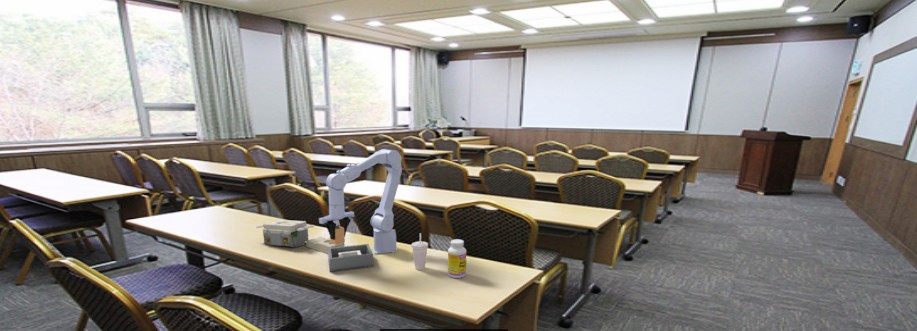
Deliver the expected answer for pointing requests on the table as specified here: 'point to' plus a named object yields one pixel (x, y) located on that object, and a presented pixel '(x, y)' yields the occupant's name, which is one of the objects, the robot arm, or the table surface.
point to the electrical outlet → (322, 244)
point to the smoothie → (419, 254)
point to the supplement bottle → (457, 259)
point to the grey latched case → (285, 233)
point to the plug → (338, 235)
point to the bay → (350, 257)
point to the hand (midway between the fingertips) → (338, 237)
